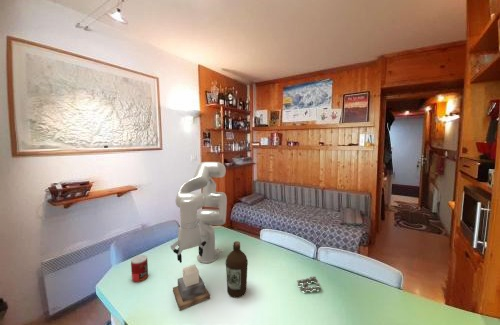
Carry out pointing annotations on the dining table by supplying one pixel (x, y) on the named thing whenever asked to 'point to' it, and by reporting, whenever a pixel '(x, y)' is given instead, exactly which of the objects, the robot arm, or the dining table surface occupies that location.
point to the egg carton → (307, 284)
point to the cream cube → (190, 275)
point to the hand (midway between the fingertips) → (190, 258)
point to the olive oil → (236, 272)
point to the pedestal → (190, 294)
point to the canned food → (139, 268)
